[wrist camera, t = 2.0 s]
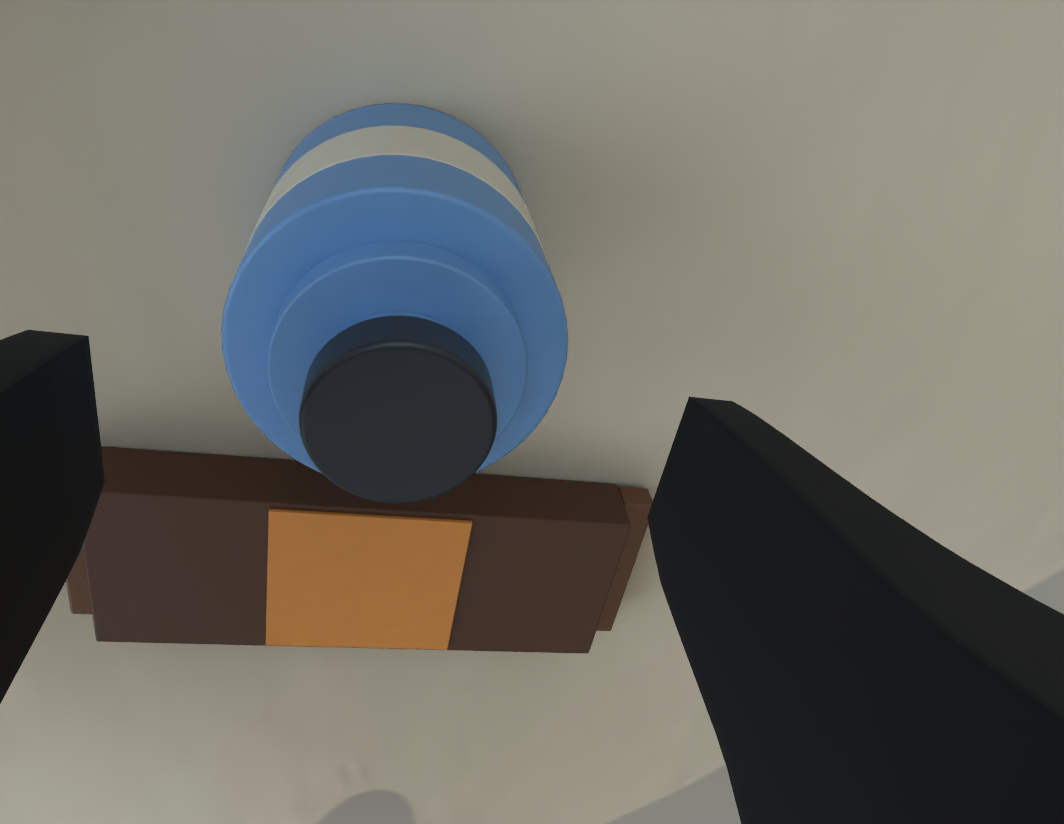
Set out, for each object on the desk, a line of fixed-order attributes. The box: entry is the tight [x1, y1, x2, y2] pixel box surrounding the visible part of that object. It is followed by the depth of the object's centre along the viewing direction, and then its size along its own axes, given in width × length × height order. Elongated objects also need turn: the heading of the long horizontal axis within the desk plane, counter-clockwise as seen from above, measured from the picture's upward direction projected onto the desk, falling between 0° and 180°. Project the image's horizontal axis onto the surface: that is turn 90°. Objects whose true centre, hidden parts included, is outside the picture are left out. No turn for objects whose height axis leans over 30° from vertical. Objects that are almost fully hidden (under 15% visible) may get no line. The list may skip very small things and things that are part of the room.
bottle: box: [222, 104, 568, 503], centre depth 13 cm, size 5×5×7 cm
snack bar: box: [66, 447, 653, 653], centre depth 19 cm, size 14×4×2 cm, turn 79°
